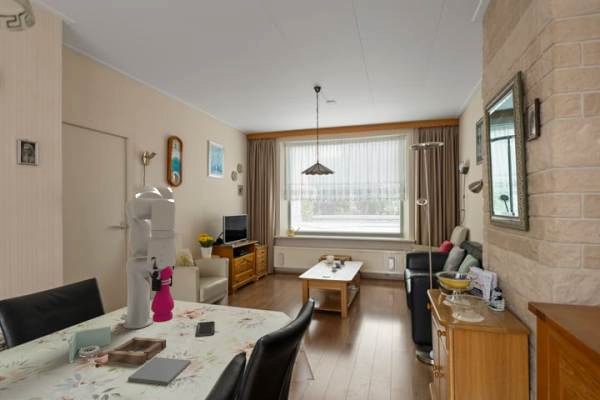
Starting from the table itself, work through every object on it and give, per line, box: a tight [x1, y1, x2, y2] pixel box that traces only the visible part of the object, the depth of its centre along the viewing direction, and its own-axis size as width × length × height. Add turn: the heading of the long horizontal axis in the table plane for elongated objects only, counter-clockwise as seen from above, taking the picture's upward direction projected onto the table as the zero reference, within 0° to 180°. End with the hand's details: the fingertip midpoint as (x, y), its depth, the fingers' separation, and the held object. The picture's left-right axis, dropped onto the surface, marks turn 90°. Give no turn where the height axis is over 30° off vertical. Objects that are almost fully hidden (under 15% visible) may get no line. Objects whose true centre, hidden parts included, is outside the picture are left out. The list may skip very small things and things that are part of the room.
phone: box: [195, 320, 216, 338], centre depth 145 cm, size 8×1×15 cm
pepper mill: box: [150, 266, 175, 323], centre depth 108 cm, size 7×7×20 cm
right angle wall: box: [68, 325, 111, 363], centre depth 121 cm, size 12×12×8 cm
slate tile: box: [127, 356, 192, 386], centre depth 108 cm, size 14×14×1 cm
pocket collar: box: [107, 336, 167, 366], centre depth 120 cm, size 14×14×3 cm
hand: (162, 287), depth 108 cm, fingers closed on pepper mill, 5 cm apart
